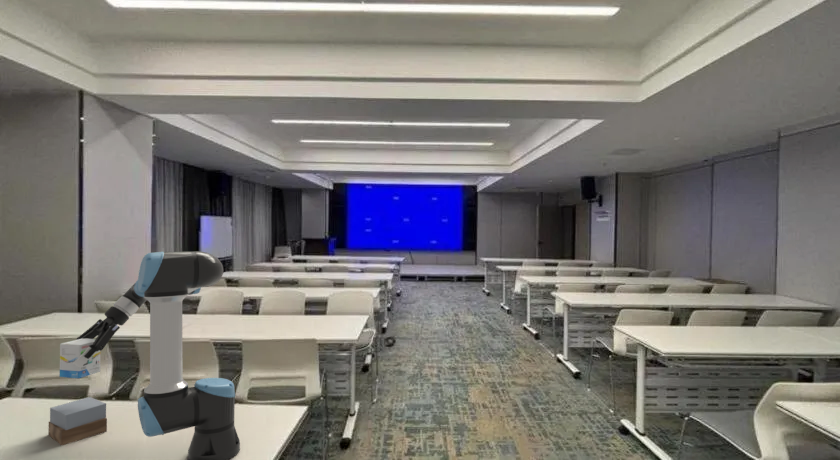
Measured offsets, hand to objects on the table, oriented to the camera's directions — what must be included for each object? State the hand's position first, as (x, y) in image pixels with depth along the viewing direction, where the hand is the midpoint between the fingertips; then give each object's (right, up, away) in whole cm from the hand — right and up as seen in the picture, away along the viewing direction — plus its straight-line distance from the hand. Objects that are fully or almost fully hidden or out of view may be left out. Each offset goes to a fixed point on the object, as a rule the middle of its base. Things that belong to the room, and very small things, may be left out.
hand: (70, 362), depth 156 cm
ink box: (+2, -5, +2) cm, 6 cm away
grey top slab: (+1, -21, +2) cm, 21 cm away
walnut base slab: (+1, -26, +2) cm, 26 cm away
